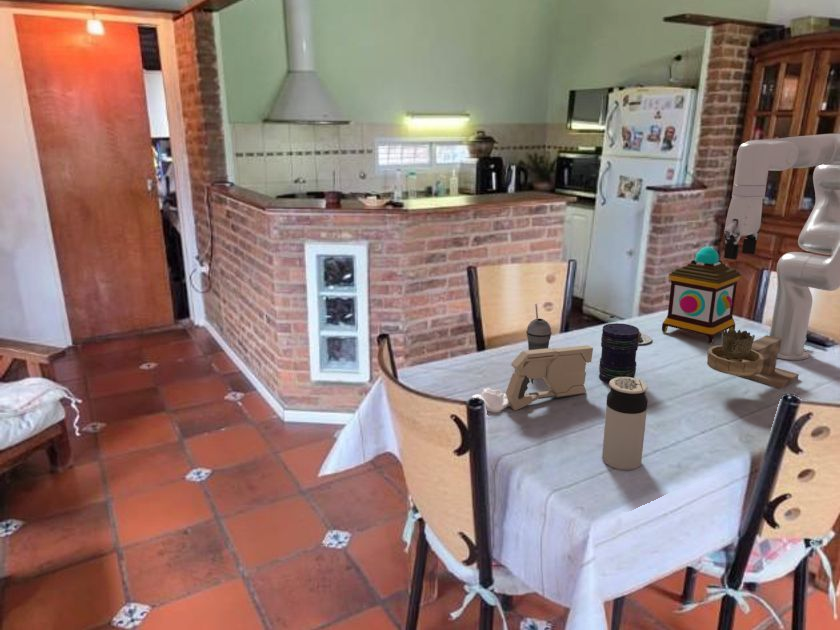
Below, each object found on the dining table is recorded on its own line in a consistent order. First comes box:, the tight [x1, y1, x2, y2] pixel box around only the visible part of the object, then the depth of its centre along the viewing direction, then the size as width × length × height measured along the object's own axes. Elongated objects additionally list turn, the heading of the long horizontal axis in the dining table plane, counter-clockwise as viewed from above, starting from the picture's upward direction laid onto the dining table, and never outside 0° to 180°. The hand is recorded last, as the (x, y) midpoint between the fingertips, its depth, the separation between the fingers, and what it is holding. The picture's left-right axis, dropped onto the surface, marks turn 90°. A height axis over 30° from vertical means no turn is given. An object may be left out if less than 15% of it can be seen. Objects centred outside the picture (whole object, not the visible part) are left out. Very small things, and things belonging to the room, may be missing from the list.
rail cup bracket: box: [706, 334, 799, 389], centre depth 159 cm, size 30×14×12 cm, turn 127°
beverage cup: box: [526, 303, 552, 350], centre depth 172 cm, size 7×7×20 cm
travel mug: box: [601, 377, 649, 471], centre depth 123 cm, size 8×8×18 cm
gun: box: [505, 344, 594, 411], centre depth 153 cm, size 24×3×15 cm, turn 114°
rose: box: [471, 387, 510, 413], centre depth 152 cm, size 10×4×10 cm
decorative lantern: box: [661, 246, 742, 345], centre depth 197 cm, size 20×20×30 cm
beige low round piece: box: [638, 330, 653, 346], centre depth 197 cm, size 12×12×5 cm
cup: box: [721, 328, 756, 362], centre depth 152 cm, size 8×7×8 cm
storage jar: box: [598, 315, 640, 385], centre depth 164 cm, size 10×10×18 cm
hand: (739, 256), depth 158 cm, fingers open, 9 cm apart
